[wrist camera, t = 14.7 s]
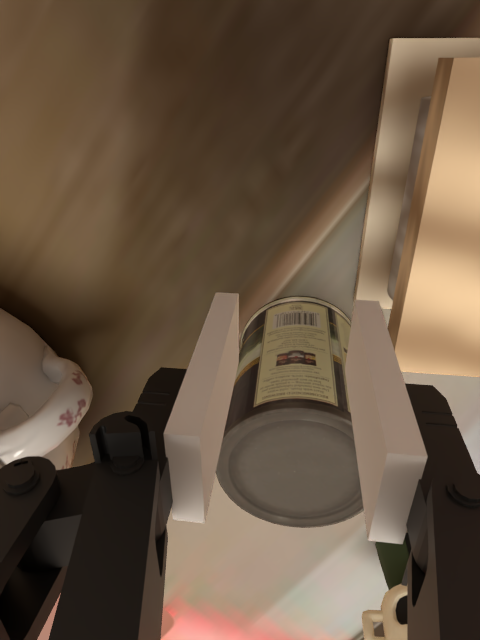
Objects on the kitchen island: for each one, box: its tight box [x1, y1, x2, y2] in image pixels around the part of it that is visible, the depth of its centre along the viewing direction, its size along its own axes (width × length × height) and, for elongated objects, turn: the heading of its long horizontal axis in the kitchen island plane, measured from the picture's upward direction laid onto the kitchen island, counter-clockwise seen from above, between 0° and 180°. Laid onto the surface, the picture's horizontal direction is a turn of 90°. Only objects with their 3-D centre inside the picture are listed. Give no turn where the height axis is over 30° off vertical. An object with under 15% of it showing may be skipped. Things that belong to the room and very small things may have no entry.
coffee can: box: [216, 297, 364, 528], centre depth 34 cm, size 10×10×14 cm
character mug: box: [362, 533, 411, 640], centre depth 45 cm, size 11×7×13 cm, turn 98°
